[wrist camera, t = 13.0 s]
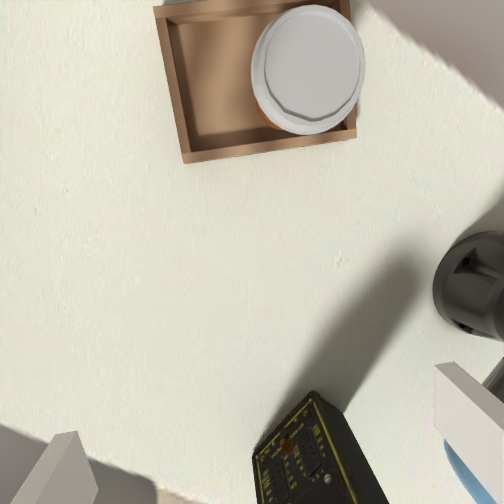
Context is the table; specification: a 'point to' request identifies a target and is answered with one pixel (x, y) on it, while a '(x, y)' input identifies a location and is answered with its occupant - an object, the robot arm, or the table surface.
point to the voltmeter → (314, 460)
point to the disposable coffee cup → (307, 70)
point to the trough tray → (227, 77)
